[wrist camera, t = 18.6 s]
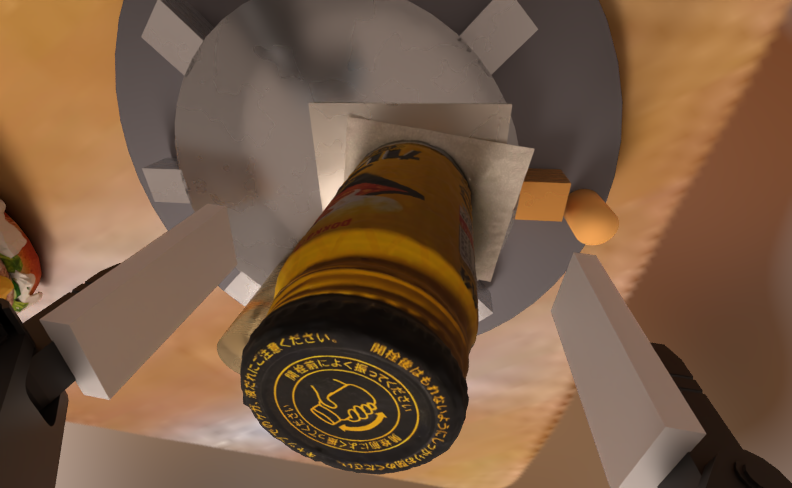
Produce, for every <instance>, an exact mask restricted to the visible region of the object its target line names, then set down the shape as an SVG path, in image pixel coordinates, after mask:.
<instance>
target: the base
mask: <svg viewBox="0 0 792 488" xmlns="http://www.w3.org/2000/svg"><path fill="white" fill-rule="evenodd" d="M178 1H187V2H189V3H190V4H191V5H192V6H193V7H194V8H195V9H196V10H197V11H198V12H199V13H200V14H201V15H203V16H204V17H205V18H206V19H207V20H208V21H209V22H210V23H211V24H212V25H213V26H214V27H216V26H217V25H218V23H219V22H220V21H221V20H222V19H224V18H225V17H226V16H228V15H229V14H230V13H231V12H233V11H234V10H235V9H237V8H238V7H239V6H241V5H242V4H244V3H246V2H248V1H250V0H178ZM408 1H410V2H411V3H413V4H415V5H417V6H419V7H420V8H422V9H424V10H426V11H427V12H429V13H431V14H433V15H434V16H435V17H437V18H438V19H439V20H440V21H442V22H443V23H444V24H446V25H447V26H448V27H449V28H451V29H452V30H453V31H455V32H456V33H457V34H458V35H460V34H461V33H462V32H463V31H464V30H465V29H466V28H467V27H468V26H469V25H470V23H471V22H472V21H473V20H474V19H475V18H476V17H477V16H478V15H479V14H480V13H481V12H482V11H483V9H484V8H485V7H486V6H487V5H488V4H489V3H490V2H491V1H492V0H408ZM517 1H518V3H519V4H520V5H521V7H522V8H523V9H524V11H525V12H526V13H527V15H528V16H529V17H530V19H531V20H532V21H533V23H534V24H535V25H536V27H537V28H538V30H537V31H536V32H535V33H534V34H533V35H532V36H531V37H530V38H529V39H528V40H527V41H526V42H525V43H524V44H523V45H522V46H521V47H519V48H518V49H517V50H516V51H515V52H514V53H513V54H512V55H511V56H510V57H509V58H508V59H507V60H506V61H505V62H504V63H503V64H502V65H501V66H500V67H499V68H498V69H497V70H496V71H495V72H494V73H493V74H492V77H493V78H494V80H495V82H496V84H497V86H498V88H499V90H500V92H501V94H502V96H503V97H504V99H505V101H506V103H512V110H511V118H512V121H513V124H514V126H515V130H516V135H517V140H518V145H519V146H521V147H527V148H533V149H534V152H533V155H532V158H531V161H530V164H529V167H528V168H532V169H561V170H562V172H563V173H564V174H565V176H566V177H567V178H568V180H569V181H570V182H571V186H570V191H569V195H568V199H567V203H566V207H565V211H564V215H563V219H562V222H558V221H538V220H517V219H515V220H514V223H513V226H512V228H511V231H510V233H509V236H508V238H507V241H506V243H505V245H504V246H503V248H502V250H501V251H500V253H499V256H498V260H497V262H496V266H495V269H494V273H493V276H492V279H491V282H489V281H484V280H478V281H479V282H480V283H481V284H483V285H484V286H485V287H486V288H487V289H488V290H489V291H490V292H491V298H492V306H493V314H491V315H490V316H488V317H486V318H485V319H483V320H481V321H479V323H478V333H477V335H480V334H482V333H484V332H487V331H489V330H491V329H493V328H495V327H497V326H499V325H501V324H502V323H504V322H506V321H508V320H510V319H512V318H513V317H515V316H516V315H517V314H519V313H520V312H522V311H523V310H525V309H526V308H527V307H529V306H530V305H532V304H533V303H534V302H535V301H537V300H538V299H539V298H540V297H541V296H542V295H543V294H544V293H545V292H547V291H548V290H549V289H550V288H551V287H552V286H553V285H554V284H555V283H556V282H557V281H558V280H559V278H560V277H561V276H562V275H563V274H564V273H565V272H566V270H567V268H568V265H569V263H570V260H571V258H572V255H573V252H575V253H580V252H581V250H582V249H583V247H584V246H585V244H587V245H598V244H602V243H604V242H606V241H608V240H609V239H611V238H612V237H613V236H614V235H615V233H616V232H617V230H618V227H619V220H618V218H617V216H616V215H615V213H614V212H613V211H612V210H611V209H610V208H609V206H608V205H607V204H606V201H607V198H608V195H609V192H610V188H611V185H612V182H613V179H614V176H615V171H616V165H617V160H618V154H619V149H620V143H621V125H622V94H621V85H620V76H619V66H618V60H617V56H616V52H615V48H614V45H613V41H612V37H611V33H610V29H609V25H608V22H607V19H606V16H605V14H604V12H603V9H602V7H601V5H600V2H599V0H517ZM156 2H157V0H124V1H123V5H122V9H121V13H120V17H119V23H118V32H117V42H116V51H115V71H116V93H117V100H118V107H119V114H120V121H121V124H122V128H123V132H124V136H125V140H126V144H127V148H128V151H129V154H130V157H131V159H132V162H133V165H134V167H135V170H136V173H137V175H138V178H139V180H140V182H141V184H142V186H143V188H144V190H145V192H146V194H147V196H148V198H149V200H150V202H151V204H152V206H153V208H154V209H155V211H156V213H157V214H158V216H159V217H160V219H161V221H162V222H163V224H164V225H165V227H166V229H167V230H168V231H169V230H170V229H172V228H173V227H175V226H176V225H178V224H179V223H180V222H182V221H183V220H185V219H186V218H188V217H189V216H191V215H192V214H194V213H195V212H194V210H193V208H192V206H191V204H190V203H170V202H155V201H154V199H153V196H152V193H151V191H150V188H149V186H148V183H147V180H146V178H145V175H144V173H143V170H142V168H144V167H146V166H148V165H151V164H153V163H155V162H157V161H160V160H162V159H164V158H167V157H169V158H177V154H176V147H175V116H176V108H177V100H178V96H179V93H180V89H181V85H182V81H183V78H184V75H183V74H182V73H181V72H180V71H178V70H177V69H176V68H175V67H174V66H173V65H172V64H171V63H170V62H168V61H167V60H166V59H165V58H164V57H163V56H162V55H161V54H159V53H158V52H157V51H156V50H155V49H154V48H153V47H152V46H151V45H149V44H148V43H147V42H146V41H145V40H144V39H143V38H142V37H141V36H142V34H143V32H144V29H145V27H146V25H147V23H148V20H149V18H150V16H151V13H152V11H153V9H154V7H155V4H156ZM239 273H240V271H239V270H238V269H237V268H236V267H235V268H234V269H233V270H232V271H231V272H230V273H229V274H228V275H227V276H226V277H225V278H224V279H223V280H222V281H221V283H220V284H219V285H218V286H219V287H220V288H221V289H222V290H223V291H224V290H225V289H226V288H227V287H228V286H229V284H230V283H231V282H232V281H233V280H234V279H235V278H236V277H237V276H238V274H239ZM227 294H228V293H227ZM231 297H232V296H231ZM235 300H236V299H235ZM239 303H240V302H239Z"/></svg>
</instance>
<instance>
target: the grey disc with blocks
mask: <svg viewBox="0 0 792 488" xmlns="http://www.w3.org/2000/svg"><path fill="white" fill-rule="evenodd" d="M537 30H538V28H537V27H536V25H535V24H534V23H533V21H532V20H531V19H530V17H529V16H528V15H527V13H526V12H525V11H524V9H523V8H522V7H521V5H520V4H519V3H518V1H517V0H492V1H491V2H490V3H489V4H488V5H487V6H486V7H485V8H484V9H483V11H482V12H481V13H480V14H479V15H478V16H477V17H476V18H475V19H474V20H473V21H472V22H471V23H470V25H469V26H468V27H467V28H466V29H465V30H464V31H463V32H462V33H461V34H460V35H458V34H457V33H456V32H455V31H453V30H452V29H451V28H449V27H448V26H447V25H446V24H444V23H443V22H442V21H440V20H439V19H438V18H437V17H435V16H434V15H433V14H431V13H429V12H427V11H426V10H424V9H422V8H420V7H419V6H417V5H415V4H413V3H411V2H410V1H408V0H250V1H248V2H246V3H244V4H242V5H241V6H239V7H238V8H237V9H235V10H234V11H233V12H231V13H230V14H229V15H228V16H226V17H225V18H224V19H222V20H221V21H220V22H219V23H218V25H217V26H216V27H214V26H213V25H212V24H211V23H210V22H209V21H208V20H207V19H206V18H205V17H204V16H203V15H201V14H200V13H199V12H198V11H197V10H196V9H195V8H194V7H193V6H192V5H191V4H190V3H189V2H187V1H178V0H157V2H156V4H155V7H154V9H153V11H152V13H151V16H150V18H149V20H148V23H147V25H146V27H145V29H144V32H143V34H142V36H141V37H142V38H143V39H144V40H145V41H146V42H147V43H148V44H149V45H151V46H152V47H153V48H154V49H155V50H156V51H157V52H158V53H159V54H161V55H162V56H163V57H164V58H165V59H166V60H167V61H168V62H170V63H171V64H172V65H173V66H174V67H175V68H176V69H177V70H178V71H180V72H181V73H182V74H183V75H184V78H183V81H182V85H181V89H180V93H179V96H178V100H177V108H176V116H175V147H176V154H177V158H169V157H167V158H164V159H162V160H160V161H157V162H155V163H153V164H151V165H148V166H146V167H144V168H142V170H143V173H144V175H145V178H146V180H147V183H148V186H149V188H150V191H151V193H152V196H153V199H154V201H155V202H170V203H190V204H191V206H192V208H193V210H194V212H196V211H198V210H199V209H201V208H202V207H204V206H205V205H207V204H214V205H221V206H226V207H227V213H228V218H229V223H230V228H231V233H232V239H233V244H234V249H235V254H236V260H237V266H236V268H237V269H238V270H239V271H240V273H239V274H238V276H237V277H236V278H235V279H234V280H233V281H232V282H231V283H230V284H229V286H228V287H227V288H226V289H225V290H224V291H225V292H226V293H228V294H229V295H230V296H232V297H233V298H234V299H236V300H237V301H238V302H240V303H241V304H242V305H244V306H245V308H244V309H243V310H242V312H241V313H240V314H239V315H238V317H237V318H236V319H235V321H234V322H233V323H232V325H231V326H230V327H229V328H228V330H227V331H226V332H225V334H224V335H223V336H222V337H221V339H220V340H219V342H218V344H217V351H218V354H219V357H220V358H221V360H222V361H223V362H224V363H225V364H226V365H227V366H228V367H229V368H230V369H232V370H233V371H235V372H237V373H239V374H240V367H241V362H242V358H241V357H242V352H243V349H244V347H245V346H246V344H247V343H248V341H249V338H250V335H251V334H252V333H253V331H254V330H255V329H256V328H257V327H258V326H259V325H260V323H261V322H262V320H263V319H264V318H265V317H266V316H267V313H268V311H269V308H270V305H271V303H272V301H273V300H274V294H275V287H276V282H277V278H278V275H279V273H280V270H281V268H282V267H283V265H284V264H285V262H286V260H287V259H288V257H289V256H290V254H291V253H292V252H293V250H294V248H295V247H296V245H297V244H298V243H299V241H300V240H301V239H302V237H303V236H305V235H306V233H307V232H308V231H309V229H310V228H311V227H312V226H313V224H314V223H315V222H316V220H317V219H318V217H319V216H320V215H321V214H322V212H323V211H324V210H325V208H326V207H327V206H328V204H329V203H330V201H331V200H332V199H333V198H334V196H335V195H336V193H337V191H338V189H339V187H341V186H342V184H343V183H344V171H345V150H346V129H347V117H352V118H360V119H366V120H372V121H377V122H384V123H390V124H395V125H401V126H407V127H412V128H419V129H425V130H430V131H436V132H441V133H446V134H451V135H457V136H462V137H468V138H474V139H479V140H485V141H490V142H498V143H504V144H509V145H514V146H519V145H518V140H517V135H516V130H515V126H514V124H513V121H512V118H511V110H512V103H506V101H505V99H504V97H503V96H502V94H501V92H500V90H499V88H498V86H497V84H496V82H495V80H494V78H493V77H492V74H493V73H494V72H495V71H496V70H497V69H498V68H499V67H500V66H501V65H502V64H503V63H504V62H505V61H506V60H507V59H508V58H509V57H510V56H511V55H512V54H513V53H514V52H515V51H516V50H517V49H518V48H519V47H521V46H522V45H523V44H524V43H525V42H526V41H527V40H528V39H529V38H530V37H531V36H532V35H533V34H534V33H535V32H536V31H537ZM469 179H470V178H469ZM470 181H471V180H470ZM570 186H571V182H570V181H569V180H568V178H567V177H566V176H565V174H564V173H563V172H562V170H561V169H532V168H528V170H527V173H526V175H525V178H524V181H523V184H522V188H521V191H520V194H519V196H518V200H517V202H516V205H515V207H514V209H513V214H512V217H511V220H510V223H509V226H508V229H507V231H506V235H505V238H504V241H503V244H502V247H501V250H502V248H503V246H504V245H505V243H506V241H507V238H508V236H509V233H510V231H511V228H512V226H513V223H514V220H515V219H517V220H538V221H558V222H562V219H563V215H564V211H565V207H566V203H567V199H568V195H569V191H570ZM501 250H500V251H501ZM478 280H479V279H477V295H478V309H479V312H478V315H479V321H481V320H483V319H485V318H486V317H488V316H490V315H491V314H493V306H492V298H491V292H490V291H489V290H488V289H487V288H486V287H485V286H484V285H483V284H481V283H480V282H479V281H478Z"/></svg>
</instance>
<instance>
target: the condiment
mask: <svg viewBox="0 0 792 488" xmlns="http://www.w3.org/2000/svg"><path fill="white" fill-rule="evenodd" d="M533 152H534V149H533V148H527V147H521V146H514V145H509V144H504V143H498V142H490V141H485V140H479V139H474V138H468V137H462V136H457V135H451V134H446V133H441V132H436V131H430V130H425V129H419V128H412V127H407V126H401V125H395V124H390V123H384V122H377V121H372V120H366V119H360V118H352V117H347V129H346V150H345V171H344V183H343V184H342V186H341V187H339V189H338V191H337V193H336V195H335V196H334V198H333V199H332V200H331V201H330V203H329V204H328V206H327V207H326V208H325V210H324V211H323V212H322V214H321V215H320V216H319V217H318V219H317V220H316V222H315V223H314V224H313V226H312V227H311V228H310V229H309V231H308V232H307V233H306V235H305V236H303V237H302V239H301V240H300V241H299V243H298V244H297V245H296V247H295V248H294V250H293V252H292V253H291V254H290V256H289V257H288V259H287V260H286V262H285V264H284V265H283V267H282V268H281V270H280V273H279V275H278V278H277V282H276V287H275V294H274V300H273V301H272V303H271V305H270V308H269V311H268V313H267V316H266V317H265V318H264V319H263V320H262V322H261V323H260V325H259V326H258V327H257V328H256V329H255V330H254V331H253V333H252V334H251V335H250V338H249V341H248V343H247V344H246V346H245V347H244V349H243V352H242V357H241V358H242V362H241V367H240V375H241V389H242V391H243V404H245V405H246V406H248V407H249V408H250V409H251V410H252V412H253V414H254V416H255V418H257V420H258V421H259V423H260V425H261V426H262V427H263V428H264V429H265V430H267V431H268V432H269V433H270V434H271V435H272V436H273V437H274V438H276V439H278V440H280V441H282V442H283V443H284V444H285V445H286V446H288V447H289V448H291V449H292V450H294V451H295V452H297V453H300V454H301V455H303V456H305V457H309V458H311V459H313V460H314V461H321V462H323V463H324V464H326V465H329V466H332V467H334V468H338V469H342V470H345V471H353V472H356V473H368V474H385V473H394V472H399V471H404V470H408V469H410V468H412V467H417V466H420V465H422V464H426V463H428V462H430V461H431V460H432V459H434V458H436V457H438V456H439V455H441V454H442V453H444V452H446V451H447V450H448V449H449V448H450V446H451V445H452V444H453V442H454V441H455V440H456V438H457V437H458V435H459V433H460V431H461V428H462V425H463V423H464V420H465V418H466V410H467V406H468V402H469V397H468V394H467V389H468V387H467V383H466V376H467V373H468V368H469V353H470V350H471V348H472V347H473V345H474V343H475V341H476V336H477V333H478V323H479V315H478V312H479V309H478V295H477V279H479V280H484V281H489V282H491V279H492V276H493V273H494V269H495V266H496V262H497V260H498V256H499V253H500V250H501V247H502V244H503V241H504V238H505V235H506V231H507V229H508V226H509V223H510V220H511V217H512V214H513V209H514V207H515V205H516V202H517V200H518V196H519V194H520V191H521V188H522V184H523V181H524V178H525V175H526V173H527V170H528V167H529V164H530V161H531V158H532V155H533ZM469 178H470V179H469ZM470 180H471V181H470Z"/></svg>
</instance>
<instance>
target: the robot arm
mask: <svg viewBox="0 0 792 488" xmlns="http://www.w3.org/2000/svg"><path fill="white" fill-rule="evenodd" d="M236 266H237V260H236V254H235V249H234V244H233V239H232V233H231V228H230V223H229V218H228V213H227V207H226V206H221V205H214V204H207V205H205V206H204V207H202V208H201V209H199V210H198V211H196V212H195V213H194V214H192V215H191V216H189V217H188V218H186V219H185V220H183V221H182V222H180V223H179V224H178V225H176V226H175V227H173V228H172V229H170V230H169V231H167V232H166V233H164V234H163V235H162V236H160V237H159V238H157V239H156V240H154V241H153V242H151V243H150V244H148V245H147V246H146V247H144V248H143V249H141V250H140V251H138V252H137V253H135V254H134V255H132V256H131V257H130V258H128V259H127V260H125V261H124V262H122V263H119V264H116V265H114V266H112V267H109V268H107V269H105V270H102V271H100V272H99V273H97V274H96V275H94V276H93V277H91V278H90V279H88V280H87V281H85V284H81V285H79V286H78V287H76V288H75V289H73V290H72V293H70V292H69V293H67V294H66V295H64V296H63V297H61V298H60V299H58V300H57V301H55V302H54V303H52V304H51V305H49V306H48V307H46V308H45V309H43V310H42V311H40V312H39V313H37V314H36V315H34V316H33V317H31V318H30V319H28V320H27V321H26V322H24V323H22V322H21V320H20V318H19V317H18V315H17V314H16V312H15V310H14V309H13V307H12V306H11V304H10V303H9V301H7V300H5V299H3V298H0V488H55V484H56V477H57V471H58V464H59V458H60V451H61V445H62V439H63V432H64V425H65V420H66V413H67V407H68V395H67V393H66V391H65V389H66V388H68V387H69V386H70V385H71V384H72V383H73V382H74V381H76V382H77V384H78V386H79V387H80V389H81V391H82V392H83V394H84V395H87V396H93V397H98V398H103V399H108V400H110V399H111V398H112V397H113V396H114V395H115V394H116V392H117V391H118V390H119V389H120V388H121V387H122V386H123V385H124V384H125V383H126V382H127V381H128V380H129V379H130V378H131V377H132V376H133V374H134V373H135V372H136V371H137V370H138V369H139V368H140V367H141V366H142V365H143V364H144V363H145V362H146V361H147V360H148V359H149V358H150V357H151V355H152V354H153V353H154V352H155V351H156V350H157V349H158V348H159V347H160V346H161V345H162V344H163V343H164V342H165V341H166V340H167V339H168V337H169V336H170V335H171V334H172V333H173V332H174V331H175V330H176V329H177V328H178V327H179V326H180V325H181V324H182V323H183V322H184V321H185V320H186V318H187V317H188V316H189V315H190V314H191V313H192V312H193V311H194V310H195V309H196V308H197V307H198V306H199V305H200V304H201V303H202V302H203V300H204V299H205V298H206V297H207V296H208V295H209V294H210V293H211V292H212V291H213V290H214V289H215V288H216V287H217V286H218V285H219V284H220V283H221V281H222V280H223V279H224V278H225V277H226V276H227V275H228V274H229V273H230V272H231V271H232V270H233V269H234V268H235V267H236ZM551 313H552V316H553V319H554V322H555V325H556V328H557V331H558V334H559V337H560V340H561V343H562V346H563V349H564V352H565V355H566V358H567V361H568V363H569V366H570V369H571V372H572V375H573V378H574V381H575V384H576V387H577V390H578V393H579V396H580V399H581V402H582V405H583V408H584V411H585V414H586V417H587V420H588V423H589V426H590V429H591V432H592V435H593V438H594V441H595V444H596V447H597V450H598V453H599V456H600V459H601V462H602V465H603V468H604V471H605V474H606V477H607V480H608V483H609V486H610V488H792V483H791V482H790V481H789V480H788V479H787V478H786V477H785V476H784V475H783V474H782V473H781V472H780V471H779V470H778V469H776V468H775V467H774V466H772V465H771V464H769V463H768V462H767V461H765V460H764V459H763V458H761V457H759V456H757V455H755V454H753V453H751V452H748V451H747V450H743V449H742V448H741V446H740V445H739V443H738V442H737V440H736V439H735V437H734V436H733V434H732V433H731V431H730V430H729V429H728V427H727V426H726V424H725V423H724V421H723V420H722V418H721V417H720V415H719V414H718V412H717V411H716V409H715V408H714V407H713V405H712V404H711V402H710V401H709V399H708V398H707V396H706V395H705V394H703V393H702V389H701V388H700V386H699V385H698V383H697V382H696V380H693V376H692V374H691V373H690V371H689V370H688V369H687V367H686V366H685V364H684V363H683V362H682V360H681V359H680V358H678V356H677V355H675V354H674V353H673V352H672V351H671V350H670V349H669V348H667V347H666V346H665V345H662V344H656V343H650V342H649V340H648V339H647V337H646V336H645V334H644V332H643V331H642V329H641V327H640V326H639V324H638V323H637V321H636V319H635V318H634V316H633V315H632V313H631V311H630V310H629V308H628V306H627V305H626V303H625V302H624V300H623V298H622V297H621V295H620V294H619V292H618V290H617V289H616V287H615V285H614V284H613V282H612V281H611V279H610V277H609V276H608V274H607V273H606V271H605V269H604V268H603V266H602V264H601V263H600V261H599V260H598V258H597V256H596V255H590V254H582V253H575V252H573V255H572V258H571V260H570V263H569V265H568V268H567V271H566V273H565V276H564V278H563V281H562V284H561V286H560V289H559V291H558V294H557V296H556V299H555V302H554V304H553V307H552V309H551Z"/></svg>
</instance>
